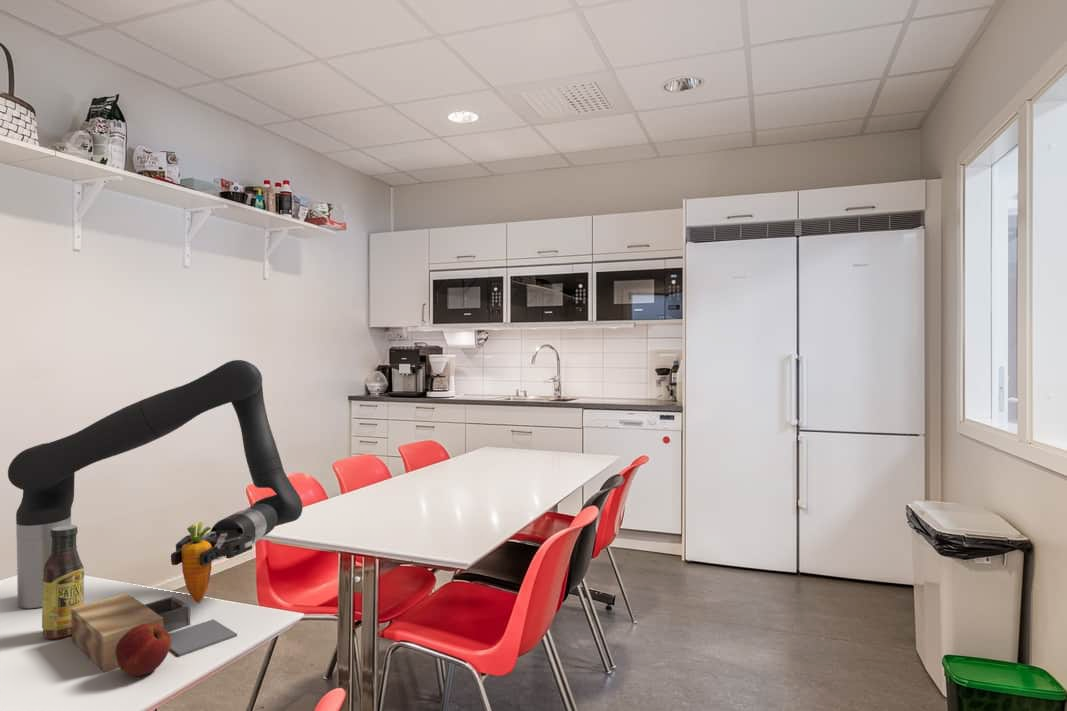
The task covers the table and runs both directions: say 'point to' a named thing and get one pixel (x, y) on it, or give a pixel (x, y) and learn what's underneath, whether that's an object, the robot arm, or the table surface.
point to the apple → (143, 649)
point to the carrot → (196, 563)
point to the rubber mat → (199, 637)
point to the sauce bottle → (62, 583)
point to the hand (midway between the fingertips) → (187, 559)
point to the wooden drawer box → (120, 623)
